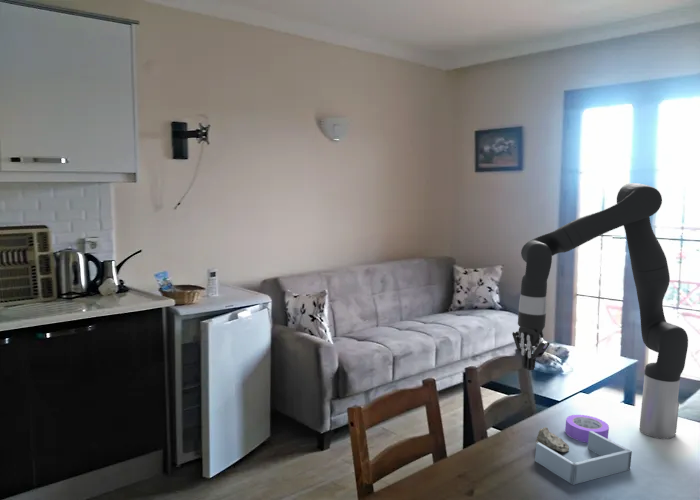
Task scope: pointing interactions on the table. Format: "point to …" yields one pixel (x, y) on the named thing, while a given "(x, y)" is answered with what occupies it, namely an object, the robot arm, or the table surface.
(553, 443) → the rock sample
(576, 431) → the masking tape
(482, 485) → the table surface
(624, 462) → the box
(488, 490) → the table surface
